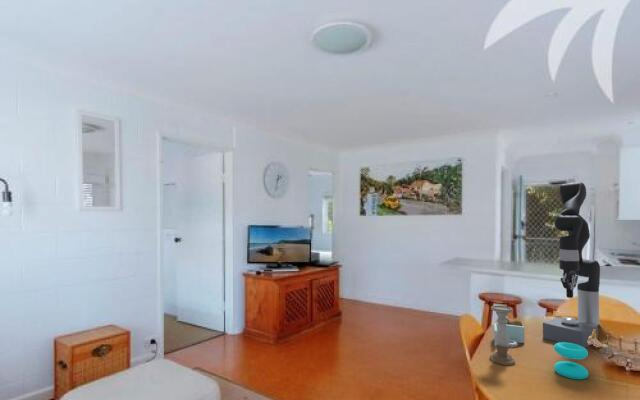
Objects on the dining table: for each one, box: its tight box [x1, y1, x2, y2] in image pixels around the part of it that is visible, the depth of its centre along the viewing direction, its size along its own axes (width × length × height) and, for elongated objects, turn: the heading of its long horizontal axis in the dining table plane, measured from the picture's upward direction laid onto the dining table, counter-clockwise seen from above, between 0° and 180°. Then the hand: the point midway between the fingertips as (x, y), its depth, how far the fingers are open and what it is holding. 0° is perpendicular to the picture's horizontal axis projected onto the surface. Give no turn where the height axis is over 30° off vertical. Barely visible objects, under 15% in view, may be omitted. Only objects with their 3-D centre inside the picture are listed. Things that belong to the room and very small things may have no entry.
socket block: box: [542, 316, 599, 349], centre depth 167 cm, size 16×16×7 cm
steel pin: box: [560, 316, 579, 327], centre depth 167 cm, size 6×6×8 cm
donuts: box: [553, 342, 589, 380], centre depth 130 cm, size 10×10×10 cm
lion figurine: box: [506, 317, 523, 326], centre depth 173 cm, size 15×5×9 cm, turn 111°
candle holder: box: [489, 305, 516, 366], centre depth 142 cm, size 9×9×20 cm
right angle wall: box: [493, 322, 525, 349], centre depth 160 cm, size 12×12×8 cm
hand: (569, 297), depth 167 cm, fingers closed
